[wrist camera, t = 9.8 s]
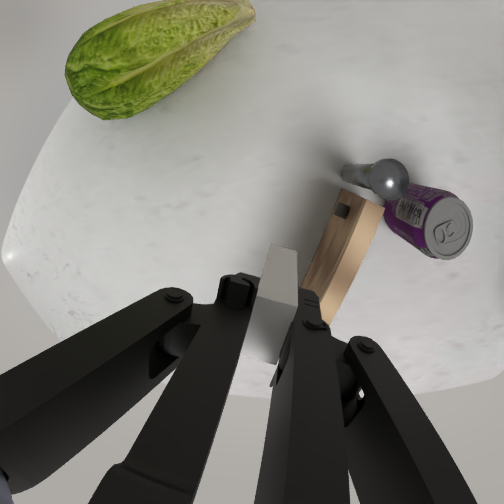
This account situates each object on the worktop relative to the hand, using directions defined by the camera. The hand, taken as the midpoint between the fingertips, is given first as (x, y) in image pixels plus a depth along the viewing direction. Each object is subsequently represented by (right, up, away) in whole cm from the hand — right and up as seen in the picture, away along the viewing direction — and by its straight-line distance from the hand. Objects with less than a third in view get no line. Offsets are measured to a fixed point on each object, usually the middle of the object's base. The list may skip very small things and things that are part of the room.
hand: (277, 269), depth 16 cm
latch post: (+11, +11, +17) cm, 23 cm away
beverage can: (+19, +7, +17) cm, 26 cm away
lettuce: (-12, +28, +15) cm, 34 cm away
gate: (+7, +2, +19) cm, 20 cm away
